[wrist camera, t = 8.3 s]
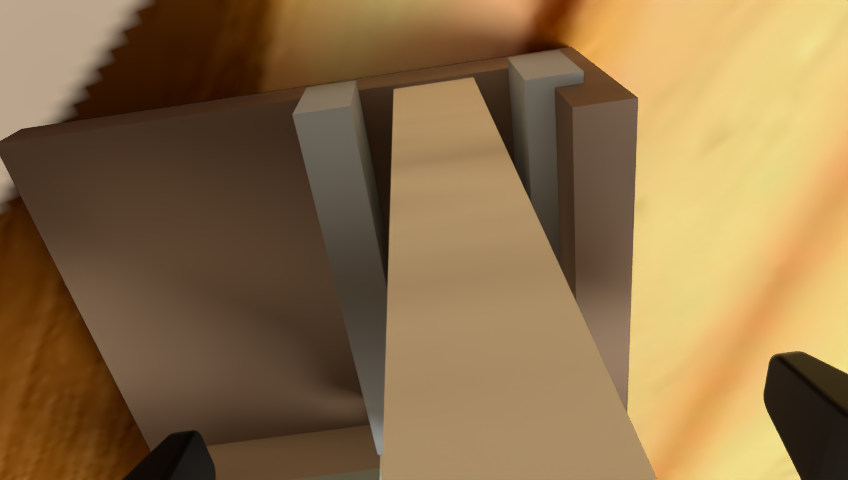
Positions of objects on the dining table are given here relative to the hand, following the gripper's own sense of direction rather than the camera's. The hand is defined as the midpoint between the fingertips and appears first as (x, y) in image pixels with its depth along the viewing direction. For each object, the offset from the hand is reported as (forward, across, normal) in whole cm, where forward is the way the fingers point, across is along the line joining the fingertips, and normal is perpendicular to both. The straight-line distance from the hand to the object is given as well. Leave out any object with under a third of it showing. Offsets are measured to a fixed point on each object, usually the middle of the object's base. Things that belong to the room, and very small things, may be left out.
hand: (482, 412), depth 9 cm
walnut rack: (+6, +3, +4) cm, 8 cm away
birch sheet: (+5, 0, 0) cm, 5 cm away
